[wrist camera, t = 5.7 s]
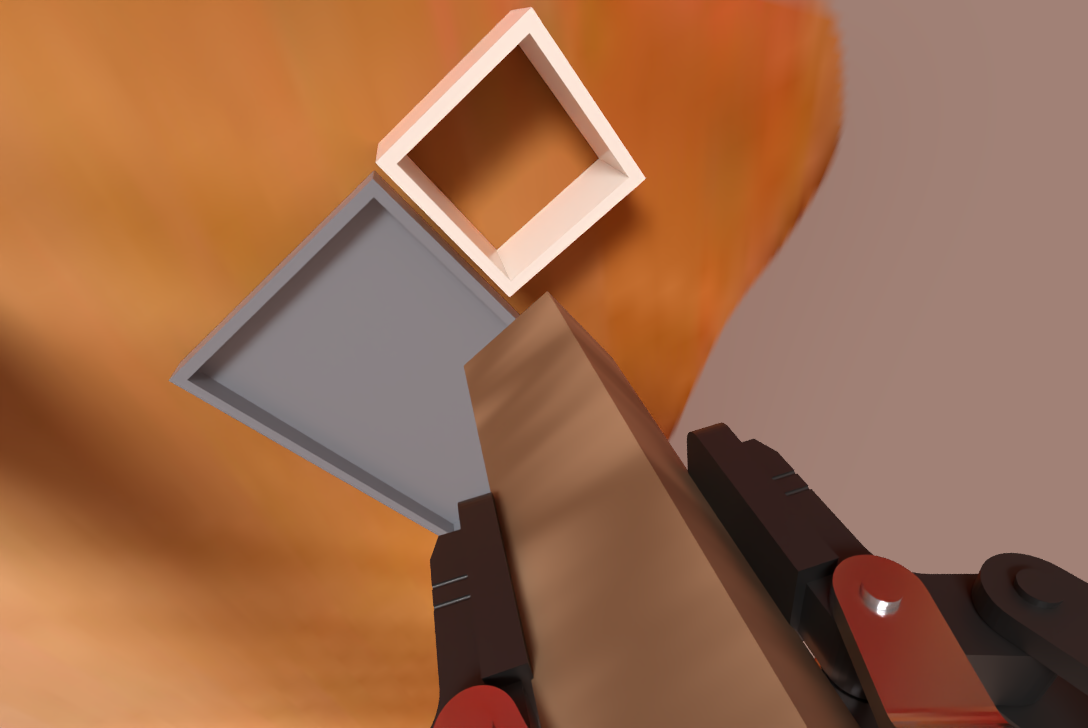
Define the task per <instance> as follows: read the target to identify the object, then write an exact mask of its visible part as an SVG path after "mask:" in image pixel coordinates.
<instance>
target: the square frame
mask: <svg viewBox="0 0 1088 728" xmlns="http://www.w3.org/2000/svg"><path fill="white" fill-rule="evenodd" d="M518 44H519V46H520V47H521V49H522V50H523V52H524V53H525V54H526V56H527V57H528V59H529V60H530V61H531V63H532V64H533V66H534V67H535V69H536V70H537V71H538V73H539V74H540V76H541V77H542V78H543V80H544V81H545V83H546V84H547V85H548V87H549V88H550V90H551V91H552V93H553V94H554V95H555V97H556V98H557V100H558V101H559V102H560V104H561V105H562V107H563V108H564V109H565V111H566V112H567V114H568V115H569V117H570V118H571V119H572V121H573V122H574V124H575V125H576V126H577V128H578V129H579V131H580V132H581V133H582V135H583V136H584V138H585V139H586V141H587V142H588V143H589V145H590V146H591V148H592V149H593V150H594V152H595V153H596V155H597V156H598V158H599V159H598V160H597V161H595V162H594V163H593V164H592V165H591V166H590V167H589V168H588V169H587V170H585V171H584V172H583V173H582V174H581V175H580V176H579V177H578V178H577V179H575V180H574V181H573V182H572V183H571V184H570V185H569V186H568V187H567V188H565V189H564V190H563V191H562V192H561V193H560V194H559V195H558V196H557V197H555V198H554V199H553V200H552V201H551V202H550V203H549V204H548V205H547V206H545V207H544V208H543V209H542V210H541V211H540V212H539V213H538V214H536V215H535V216H534V217H533V218H532V219H531V220H530V221H529V222H528V223H526V224H525V225H524V226H523V227H522V228H521V229H520V230H519V231H518V232H516V233H515V234H514V235H513V236H512V237H511V238H510V239H509V240H508V241H506V242H505V243H504V244H503V245H502V246H501V247H500V248H499V249H498V250H496V249H495V248H494V247H493V246H492V245H491V243H490V242H489V241H488V240H487V239H486V238H485V237H484V236H483V235H482V234H481V233H480V232H479V231H478V230H477V229H476V228H475V227H474V226H473V224H472V223H471V222H470V221H469V220H468V219H467V218H466V217H465V216H464V215H463V214H462V213H461V212H460V211H459V210H458V209H457V208H456V207H455V205H454V204H453V203H452V202H451V201H450V200H449V199H448V198H447V197H446V196H445V195H444V194H443V193H442V192H441V191H440V190H439V189H438V188H437V186H436V185H435V184H434V183H433V182H432V181H431V180H430V179H429V178H428V177H427V176H426V175H425V174H424V173H423V172H422V171H421V170H420V169H419V167H418V166H417V165H416V164H415V163H414V162H413V161H412V160H411V159H410V158H409V157H408V156H407V155H406V154H407V153H408V152H409V151H410V150H411V149H412V148H413V147H414V146H415V145H416V144H417V143H418V142H419V141H420V140H421V139H422V138H423V137H424V136H425V135H426V134H427V133H428V132H430V131H431V130H432V129H433V128H434V127H435V126H436V125H437V124H438V123H439V122H440V121H441V120H442V119H443V118H444V117H445V116H446V115H447V114H448V113H449V112H450V111H451V110H452V109H453V108H454V107H455V106H456V105H457V104H458V103H459V102H460V101H461V100H462V99H463V98H464V97H465V96H466V95H467V94H468V93H469V92H470V91H471V90H472V89H473V88H474V87H475V86H476V85H477V84H478V83H479V82H480V81H481V80H482V79H483V78H484V77H485V76H486V75H487V74H488V73H489V72H490V71H491V70H492V69H493V68H494V67H496V66H497V65H498V64H499V63H500V62H501V61H502V60H503V59H504V58H505V57H506V56H507V55H508V54H509V53H510V52H511V51H512V50H513V49H514V48H515V47H516V46H517V45H518ZM375 163H376V164H377V165H378V166H379V167H380V168H381V169H382V170H383V171H384V172H385V173H386V174H387V175H388V176H389V177H390V178H391V179H392V180H393V181H394V182H395V183H396V184H397V185H398V186H399V187H400V188H401V189H402V190H403V191H404V192H405V193H406V194H407V195H408V196H409V197H410V198H411V199H412V200H413V201H414V202H415V203H416V204H417V205H418V206H419V207H420V208H421V209H422V210H423V211H424V212H425V213H426V214H427V215H428V216H429V217H430V218H431V219H432V220H433V221H434V222H435V223H436V224H437V225H438V226H439V227H440V228H441V229H442V230H443V231H444V232H445V233H446V234H447V235H448V236H449V237H450V238H451V239H452V240H453V241H454V242H455V243H456V244H457V245H458V246H459V247H460V248H461V249H462V250H463V251H464V252H465V253H466V254H467V255H468V256H469V257H470V258H471V259H472V260H473V261H474V262H475V263H476V264H477V265H478V266H479V267H480V268H481V269H482V270H483V271H484V272H485V273H486V274H487V275H488V276H489V277H490V278H491V279H492V280H493V281H494V282H495V283H496V284H497V285H498V286H499V287H500V288H501V289H502V290H503V291H504V292H505V293H506V294H507V295H508V296H509V297H510V296H512V295H513V294H514V293H515V292H516V291H517V290H518V289H520V288H521V287H522V286H523V285H524V284H525V283H527V282H528V281H529V280H530V279H531V278H532V277H533V276H535V275H536V274H537V273H538V272H539V271H540V270H541V269H543V268H544V267H545V266H546V265H547V264H548V263H549V262H551V261H552V260H553V259H554V258H555V257H556V256H558V255H559V254H560V253H561V252H562V251H563V250H564V249H566V248H567V247H568V246H569V245H570V244H571V243H572V242H574V241H575V240H576V239H577V238H578V237H579V236H580V235H582V234H583V233H584V232H585V231H586V230H587V229H589V228H590V227H591V226H592V225H593V224H594V223H595V222H597V221H598V220H599V219H600V218H601V217H602V216H603V215H605V214H606V213H607V212H608V211H609V210H610V209H611V208H613V207H614V206H615V205H616V204H617V203H618V202H620V201H621V200H622V199H623V198H624V197H625V196H626V195H628V194H629V193H630V192H631V191H632V190H633V189H634V188H636V187H637V186H638V185H639V184H640V183H641V182H642V181H644V180H645V179H646V178H645V177H644V175H643V174H642V172H641V171H640V169H639V168H638V166H637V165H636V163H635V162H634V160H633V159H632V157H631V156H630V154H629V153H628V151H627V150H626V148H625V147H624V145H623V144H622V142H621V141H620V139H619V138H618V136H617V135H616V133H615V132H614V130H613V129H612V127H611V126H610V124H609V123H608V121H607V120H606V118H605V117H604V115H603V114H602V112H601V111H600V109H599V108H598V106H597V105H596V103H595V102H594V100H593V99H592V97H591V96H590V94H589V93H588V91H587V90H586V88H585V87H584V85H583V84H582V82H581V81H580V79H579V78H578V76H577V75H576V73H575V72H574V70H573V69H572V67H571V66H570V64H569V63H568V61H567V60H566V58H565V57H564V55H563V54H562V52H561V51H560V49H559V48H558V46H557V45H556V43H555V42H554V40H553V39H552V37H551V36H550V34H549V33H548V31H547V30H546V28H545V27H544V25H543V24H542V22H541V21H540V19H539V18H538V16H537V15H536V13H535V11H534V10H533V8H532V7H529V8H523V9H516V10H511V11H510V12H509V13H508V14H507V15H506V16H505V17H504V18H503V19H502V20H501V21H500V22H499V23H498V24H497V25H496V26H495V27H494V28H493V29H492V30H491V31H490V32H489V33H488V34H487V35H486V36H485V37H484V38H483V39H482V40H481V41H480V42H479V43H478V44H477V45H476V46H475V47H474V48H473V49H472V50H471V51H470V52H469V53H468V54H467V55H466V56H465V57H464V58H463V59H462V60H461V61H460V62H459V63H458V64H457V65H456V66H455V67H454V68H453V69H452V70H451V71H450V72H449V73H448V74H447V75H446V76H445V77H444V78H443V79H442V80H441V81H440V82H439V83H438V84H437V85H436V86H435V87H434V88H433V89H432V90H431V91H430V92H429V93H428V94H427V95H426V96H425V97H424V98H423V99H422V100H421V101H420V102H419V103H418V104H417V105H416V106H415V107H414V108H413V109H412V110H411V111H410V112H409V113H408V114H407V115H406V116H405V117H404V118H403V119H402V120H401V121H400V122H399V123H398V124H397V125H396V126H395V127H394V128H393V129H392V130H391V131H390V132H389V133H388V134H387V135H386V136H385V137H384V138H383V139H382V140H381V141H380V142H379V144H378V150H377V156H376V162H375Z"/></svg>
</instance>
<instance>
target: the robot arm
mask: <svg viewBox="0 0 1088 728" xmlns="http://www.w3.org/2000/svg"><path fill="white" fill-rule="evenodd" d="M687 458H688V474H689V475H690V477H691V478H692V480H693V481H694V483H695V484H696V486H697V487H698V489H699V490H700V492H701V493H702V495H703V496H704V498H705V499H706V501H707V502H708V504H709V505H710V507H711V508H712V510H713V511H714V513H715V514H716V516H717V517H718V519H719V520H720V522H721V523H722V525H723V526H724V528H725V529H726V531H727V532H728V533H729V535H730V536H731V538H732V539H733V541H734V542H735V544H736V545H737V547H738V548H739V550H740V551H741V553H742V554H743V556H744V557H745V559H746V560H747V562H748V563H749V565H750V566H751V568H752V569H753V571H754V572H755V574H756V575H757V577H758V578H759V580H760V581H761V583H762V584H763V586H764V587H765V589H766V590H767V592H768V593H769V595H770V596H771V598H772V599H773V601H774V602H775V604H776V605H777V607H778V608H779V610H780V611H781V613H782V614H783V616H784V617H785V619H786V620H787V622H788V623H789V625H790V626H791V627H793V628H794V629H795V631H796V632H797V634H798V635H799V637H800V638H801V640H802V641H804V642H805V643H806V645H807V646H808V648H809V649H810V650H811V652H812V653H813V655H814V656H815V658H814V659H815V661H816V662H817V664H818V665H819V667H820V668H821V670H822V671H823V673H824V674H825V676H826V677H827V678H828V680H829V681H830V683H831V684H832V686H833V687H834V689H835V690H836V692H837V693H838V695H839V696H840V698H841V699H842V701H843V702H844V704H845V705H846V707H847V708H848V710H849V711H850V713H851V714H852V716H853V717H854V719H855V720H856V722H857V723H858V725H859V726H860V728H1088V583H1086V582H1084V581H1083V580H1081V579H1079V578H1077V577H1076V576H1074V575H1072V574H1070V573H1068V572H1067V571H1065V570H1063V569H1062V568H1060V567H1058V566H1056V565H1054V564H1052V563H1050V562H1047V561H1045V560H1043V559H1040V558H1037V557H1033V556H1030V555H1025V554H1018V553H1003V554H998V555H995V556H993V557H991V558H989V559H988V560H986V561H985V563H984V564H983V565H982V567H981V570H980V571H979V574H920V573H913V572H911V571H910V570H908V569H907V568H905V567H904V566H902V565H900V564H899V563H896V562H895V561H892V560H890V559H887V558H884V557H880V556H875V555H873V554H872V553H870V552H869V551H868V550H867V549H866V548H865V547H864V546H863V545H862V544H861V543H860V542H859V541H858V540H857V539H856V538H855V536H854V535H853V534H852V533H851V532H850V531H849V530H848V529H847V528H846V527H845V526H844V524H843V523H842V522H841V521H840V520H839V519H838V518H837V517H836V516H835V514H834V513H833V512H832V511H831V510H830V509H829V508H828V507H827V506H826V505H825V504H824V502H823V501H821V499H820V498H819V497H818V496H817V495H816V494H815V493H814V492H813V491H812V489H809V488H808V485H807V484H806V483H805V482H804V481H803V480H802V478H801V477H800V476H799V475H798V474H795V472H794V470H793V468H792V467H791V466H790V465H789V464H788V463H787V462H786V461H785V460H784V459H783V457H782V456H780V454H779V453H778V452H777V451H775V450H773V449H771V448H769V447H768V446H766V445H764V444H762V443H761V442H759V441H757V440H755V439H751V440H749V441H745V442H741V441H740V440H739V439H738V438H737V436H735V434H734V433H733V432H732V431H731V430H730V428H729V427H728V426H727V425H726V424H724V423H719V424H715V425H712V426H709V427H705V428H702V429H699V430H695V431H692V432H689V433H688V435H687ZM458 513H459V520H460V527H461V529H459V530H456V531H453V532H450V533H446V534H443V535H440V536H438V539H437V542H436V545H435V548H434V551H433V553H432V556H431V559H430V566H431V580H432V587H433V590H432V593H433V606H434V620H435V634H436V647H437V661H438V674H439V687H440V698H439V705H438V709H437V713H436V716H435V719H434V721H433V724H432V726H431V728H541V724H540V720H539V715H538V710H537V706H536V701H535V696H534V692H533V687H532V682H531V680H532V679H533V678H534V677H533V673H532V668H531V664H530V659H529V655H528V650H527V645H526V641H525V636H524V632H523V627H522V623H521V618H520V614H519V609H518V605H517V600H516V596H515V591H514V587H513V582H512V577H511V573H510V568H509V564H508V559H507V555H506V550H505V546H504V541H503V537H502V532H501V528H500V523H499V518H498V514H497V509H496V505H495V500H494V496H493V494H492V492H490V493H487V494H483V495H480V496H477V497H474V498H470V499H467V500H464V501H460V502H458Z"/></svg>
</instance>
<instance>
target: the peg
mask: <svg viewBox="0 0 1088 728" xmlns="http://www.w3.org/2000/svg"><path fill="white" fill-rule="evenodd" d="M464 370H465V375H466V380H467V384H468V389H469V394H470V398H471V403H472V408H473V412H474V417H475V421H476V426H477V431H478V435H479V440H480V445H481V449H482V454H483V459H484V463H485V468H486V473H487V477H488V482H489V487H490V491H491V492H492V494H493V496H494V500H495V505H496V509H497V514H498V518H499V523H500V528H501V532H502V537H503V541H504V546H505V550H506V555H507V559H508V564H509V568H510V573H511V577H512V582H513V587H514V591H515V596H516V600H517V605H518V609H519V614H520V618H521V623H522V627H523V632H524V636H525V641H526V645H527V650H528V655H529V659H530V664H531V668H532V673H533V677H534V678H533V679H532V680H531V682H532V687H533V692H534V696H535V701H536V706H537V710H538V715H539V720H540V724H541V728H860V726H859V725H858V723H857V722H856V720H855V719H854V717H853V716H852V714H851V713H850V711H849V710H848V708H847V707H846V705H845V704H844V702H843V701H842V699H841V698H840V696H839V695H838V693H837V692H836V690H835V689H834V687H833V686H832V684H831V683H830V681H829V680H828V678H827V677H826V676H825V674H824V673H823V671H822V670H821V668H820V667H819V665H818V664H817V662H816V661H815V659H814V658H813V656H812V655H811V653H810V652H809V650H808V649H807V647H806V646H805V644H804V643H803V641H802V640H801V638H800V637H799V635H798V634H797V632H796V631H795V629H794V628H793V627H791V626H790V625H789V623H788V622H787V620H786V619H785V617H784V616H783V614H782V613H781V611H780V610H779V608H778V607H777V605H776V604H775V602H774V601H773V599H772V598H771V596H770V595H769V593H768V592H767V590H766V589H765V587H764V586H763V584H762V583H761V581H760V580H759V578H758V577H757V575H756V574H755V572H754V571H753V569H752V568H751V566H750V565H749V563H748V562H747V560H746V559H745V557H744V556H743V554H742V553H741V551H740V550H739V548H738V547H737V545H736V544H735V542H734V541H733V539H732V538H731V536H730V535H729V533H728V532H727V531H726V529H725V528H724V526H723V525H722V523H721V522H720V520H719V519H718V517H717V516H716V514H715V513H714V511H713V510H712V508H711V507H710V505H709V504H708V502H707V501H706V499H705V498H704V496H703V495H702V493H701V492H700V490H699V489H698V487H697V486H696V484H695V483H694V481H693V480H692V478H691V477H690V475H689V474H688V470H687V469H686V467H685V466H684V464H683V463H682V461H681V460H680V458H679V457H678V455H677V454H676V452H675V451H674V449H673V448H672V446H671V445H670V443H669V442H668V440H667V439H666V437H665V436H664V434H663V433H662V431H661V430H660V428H659V427H658V425H657V424H656V422H655V421H654V419H653V418H652V416H651V415H650V413H649V412H648V410H647V409H646V407H645V406H644V405H643V403H642V402H641V400H640V399H639V397H638V396H637V394H636V393H635V391H634V390H633V388H632V387H631V385H630V384H629V382H628V381H627V379H626V378H625V376H624V375H623V373H622V372H621V370H620V369H619V367H618V366H617V364H616V363H615V361H614V360H613V358H612V357H611V356H610V355H609V354H608V353H607V352H606V351H605V350H604V349H603V348H602V347H601V346H600V345H599V344H598V343H597V342H596V341H595V340H594V339H593V338H592V337H591V336H590V335H589V333H588V332H587V331H586V330H585V329H584V328H583V327H582V326H581V325H580V324H579V323H578V322H577V321H576V320H575V319H574V318H573V317H572V316H571V315H570V314H569V313H568V312H567V311H566V310H565V309H564V308H563V307H562V306H561V305H560V304H559V302H558V301H557V300H556V299H555V298H554V297H553V296H552V295H551V294H550V293H549V292H548V291H547V292H546V293H544V294H543V295H542V296H541V297H540V298H539V299H538V300H537V301H536V302H534V303H533V304H532V305H531V306H530V307H529V308H528V309H527V310H525V311H524V312H523V313H522V314H521V315H520V316H519V317H518V318H516V319H515V320H514V321H513V322H512V323H511V324H510V325H509V326H508V327H506V328H505V329H504V330H503V331H502V332H501V333H500V334H499V335H497V336H496V337H495V338H494V339H493V340H492V341H491V342H490V343H488V344H487V345H486V346H485V347H484V348H483V349H482V350H481V351H480V352H478V353H477V354H476V355H475V356H474V357H473V358H472V359H471V360H469V361H468V362H467V363H466V364H465V365H464Z"/></svg>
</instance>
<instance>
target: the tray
mask: <svg viewBox="0 0 1088 728" xmlns="http://www.w3.org/2000/svg"><path fill="white" fill-rule="evenodd" d="M519 316H520V315H519V314H518V313H517V312H516V311H515V310H514V309H513V308H512V307H511V306H510V305H509V304H508V303H507V302H506V301H505V300H504V299H503V298H502V297H501V296H500V295H499V294H498V293H497V292H496V291H495V290H494V289H493V288H492V287H491V286H490V285H489V284H488V283H487V282H486V281H485V280H484V279H483V278H482V277H481V276H480V275H479V274H478V273H477V272H476V271H475V270H474V269H473V268H472V267H471V266H470V265H469V264H468V263H467V262H466V261H465V260H464V259H463V258H462V257H461V256H460V255H459V254H458V253H457V252H456V251H455V250H454V249H453V248H452V247H451V246H450V245H449V244H448V243H447V242H446V241H445V240H444V239H443V238H442V237H441V236H440V235H439V234H438V233H437V232H436V231H435V230H434V229H433V228H432V227H431V226H430V225H429V224H428V223H427V222H426V221H425V220H424V219H423V218H422V217H421V216H420V215H419V214H418V213H417V212H416V211H415V210H414V209H413V208H412V207H411V206H410V205H409V204H408V203H407V202H406V201H405V200H403V199H402V198H401V197H400V196H399V195H398V194H397V193H396V192H395V191H394V190H393V189H392V188H391V187H390V186H389V185H388V184H387V183H386V182H385V181H384V180H383V179H382V178H381V177H380V176H379V175H378V174H377V173H376V172H375V171H373V172H372V173H371V174H370V175H369V176H368V177H367V178H366V179H365V180H364V181H363V182H362V183H361V184H360V185H359V186H358V187H357V188H356V189H355V190H354V191H353V192H352V193H351V194H350V195H349V196H348V197H347V198H346V199H345V200H344V201H343V202H342V203H341V204H340V205H339V206H338V207H337V208H336V209H335V210H334V211H333V212H332V213H331V214H330V215H329V216H327V217H326V218H325V219H324V220H323V221H322V222H321V223H320V224H319V225H318V226H317V227H316V228H315V229H314V230H313V231H312V232H311V233H310V234H309V235H308V236H307V237H306V238H305V239H304V240H303V241H302V242H301V243H300V244H299V245H298V246H297V247H296V248H295V249H294V250H293V251H292V252H291V253H290V254H289V255H288V256H287V257H286V258H285V259H284V260H283V261H282V262H281V263H280V264H279V265H278V266H277V267H276V268H275V269H274V270H273V271H272V272H271V273H270V274H269V275H268V276H267V277H266V278H265V279H264V280H263V281H262V282H261V283H260V284H259V285H258V286H257V287H256V288H255V289H254V290H253V291H252V292H251V293H250V294H249V295H248V296H247V297H246V298H245V299H244V300H243V301H242V302H241V303H240V304H239V305H238V306H237V307H236V308H235V309H234V310H233V311H232V312H231V313H230V314H229V315H228V316H227V317H226V318H225V319H224V320H223V321H222V322H221V323H220V324H219V325H218V326H217V327H216V328H215V329H214V330H213V331H212V332H211V333H210V334H209V335H208V336H207V337H206V338H205V339H204V340H203V341H202V342H201V343H200V344H199V345H198V346H197V347H196V348H195V349H194V350H192V351H191V352H190V353H189V354H188V355H187V356H186V357H185V358H184V359H183V360H182V361H181V362H180V364H179V365H178V367H177V368H176V370H175V371H174V373H173V375H172V376H171V378H170V379H169V381H170V382H172V383H174V384H175V385H177V386H179V387H181V388H182V389H184V390H186V391H188V392H189V393H191V394H193V395H195V396H196V397H198V398H200V399H202V400H203V401H205V402H207V403H209V404H210V405H212V406H214V407H215V408H217V409H219V410H221V411H222V412H224V413H226V414H228V415H229V416H231V417H233V418H235V419H236V420H238V421H240V422H242V423H243V424H245V425H247V426H249V427H250V428H252V429H254V430H256V431H257V432H259V433H261V434H263V435H264V436H266V437H268V438H269V439H271V440H273V441H275V442H276V443H278V444H280V445H282V446H283V447H285V448H287V449H289V450H290V451H292V452H294V453H296V454H297V455H299V456H301V457H303V458H304V459H306V460H308V461H310V462H311V463H313V464H315V465H317V466H318V467H320V468H322V469H323V470H325V471H327V472H329V473H330V474H332V475H334V476H336V477H337V478H339V479H341V480H343V481H344V482H346V483H348V484H350V485H351V486H353V487H355V488H357V489H358V490H360V491H362V492H364V493H365V494H367V495H369V496H371V497H372V498H374V499H376V500H377V501H379V502H381V503H383V504H384V505H386V506H388V507H390V508H391V509H393V510H395V511H397V512H398V513H400V514H402V515H404V516H405V517H407V518H409V519H411V520H412V521H414V522H416V523H418V524H419V525H421V526H423V527H425V528H426V529H428V530H430V531H431V532H433V533H435V534H437V535H438V536H440V535H443V534H446V533H450V532H453V531H456V530H459V529H461V527H460V520H459V513H458V502H460V501H464V500H467V499H470V498H474V497H477V496H480V495H483V494H487V493H490V492H491V491H490V487H489V482H488V477H487V473H486V468H485V463H484V459H483V454H482V449H481V445H480V440H479V435H478V431H477V426H476V421H475V417H474V412H473V408H472V403H471V398H470V394H469V389H468V384H467V380H466V375H465V370H464V365H465V364H466V363H467V362H468V361H469V360H471V359H472V358H473V357H474V356H475V355H476V354H477V353H478V352H480V351H481V350H482V349H483V348H484V347H485V346H486V345H487V344H488V343H490V342H491V341H492V340H493V339H494V338H495V337H496V336H497V335H499V334H500V333H501V332H502V331H503V330H504V329H505V328H506V327H508V326H509V325H510V324H511V323H512V322H513V321H514V320H515V319H516V318H518V317H519Z"/></svg>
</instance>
